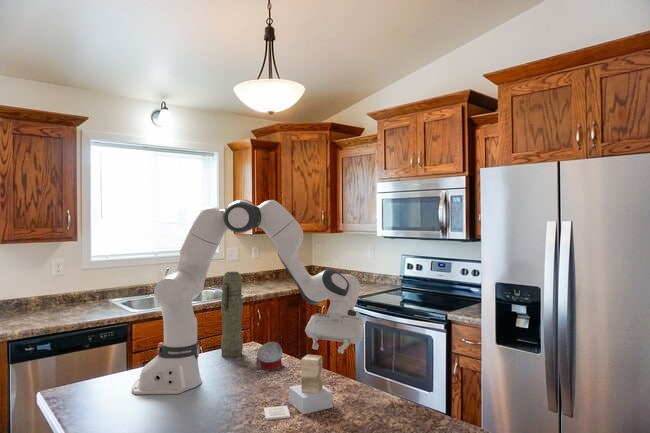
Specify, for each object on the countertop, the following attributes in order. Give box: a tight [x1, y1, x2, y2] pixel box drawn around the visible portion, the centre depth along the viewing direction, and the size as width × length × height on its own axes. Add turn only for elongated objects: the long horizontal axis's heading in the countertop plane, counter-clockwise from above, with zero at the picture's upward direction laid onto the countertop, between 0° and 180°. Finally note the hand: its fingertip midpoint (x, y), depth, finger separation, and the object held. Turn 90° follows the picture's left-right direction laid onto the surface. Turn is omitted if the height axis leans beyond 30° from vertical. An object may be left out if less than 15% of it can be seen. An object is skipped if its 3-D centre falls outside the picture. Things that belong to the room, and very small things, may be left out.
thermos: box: [220, 271, 244, 359], centre depth 187 cm, size 9×12×35 cm
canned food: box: [255, 341, 283, 371], centre depth 173 cm, size 11×10×10 cm
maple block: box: [300, 354, 323, 394], centre depth 136 cm, size 5×5×10 cm
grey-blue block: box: [288, 384, 334, 415], centre depth 136 cm, size 10×10×5 cm
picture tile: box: [263, 405, 291, 421], centre depth 130 cm, size 7×7×1 cm
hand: (327, 350), depth 148 cm, fingers open, 8 cm apart
